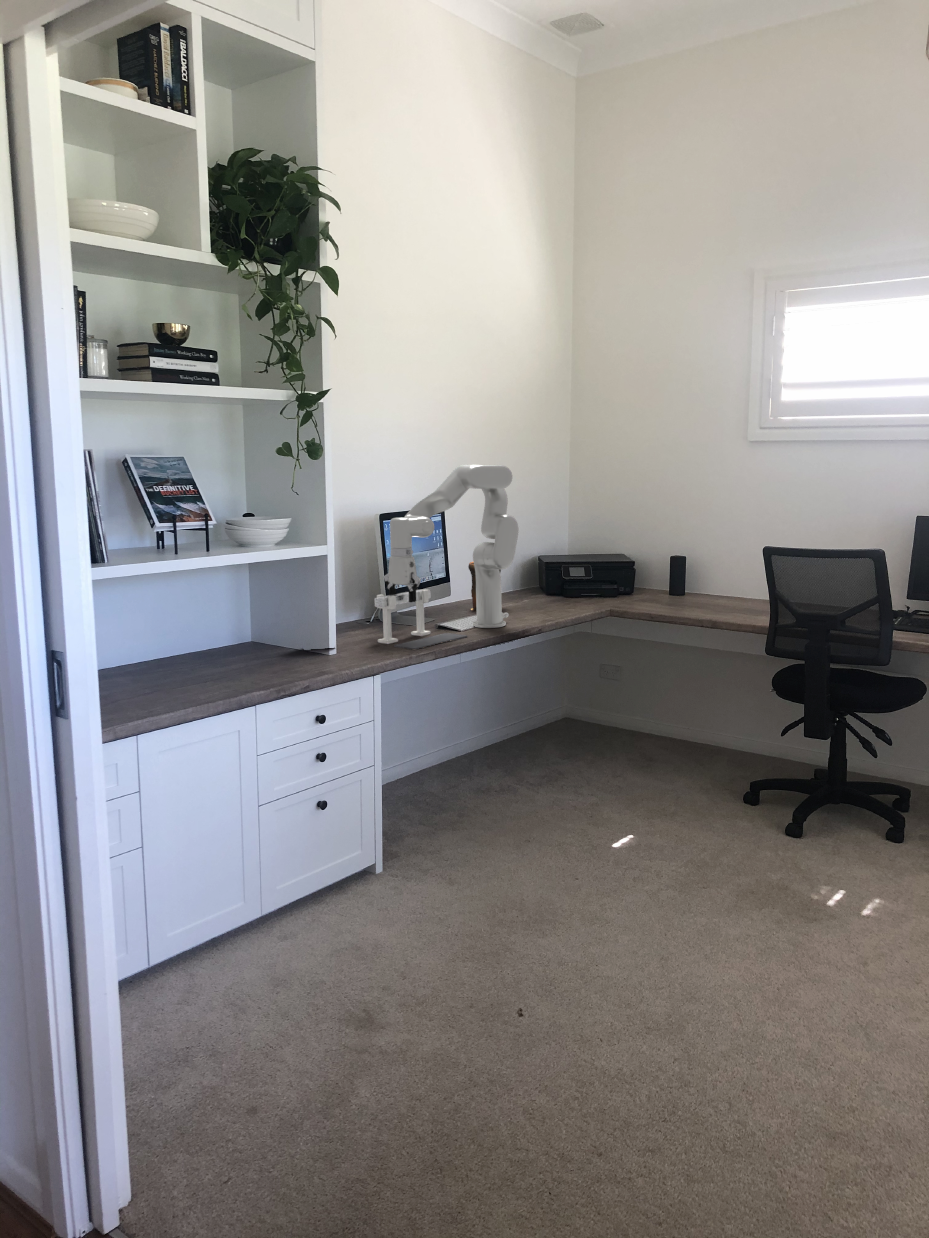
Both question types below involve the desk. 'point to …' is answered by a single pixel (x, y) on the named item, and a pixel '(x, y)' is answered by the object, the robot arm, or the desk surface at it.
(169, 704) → the desk surface
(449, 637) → the mat
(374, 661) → the desk surface
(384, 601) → the rail
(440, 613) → the desk surface
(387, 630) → the hook standards
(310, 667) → the desk surface
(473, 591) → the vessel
